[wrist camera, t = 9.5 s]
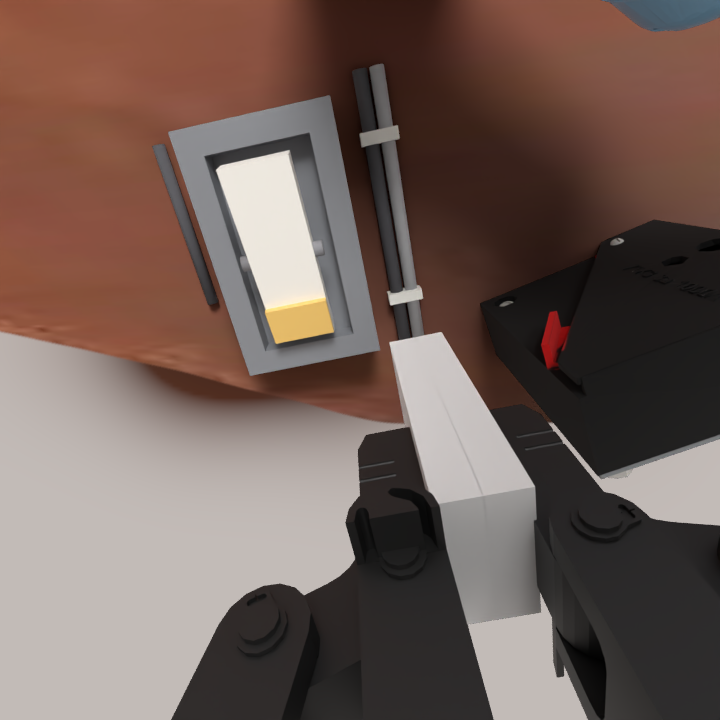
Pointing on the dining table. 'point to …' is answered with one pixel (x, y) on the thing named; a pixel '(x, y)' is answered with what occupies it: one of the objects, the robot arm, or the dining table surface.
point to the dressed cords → (371, 144)
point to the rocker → (278, 244)
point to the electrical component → (622, 345)
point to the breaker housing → (325, 217)
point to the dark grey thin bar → (185, 222)
